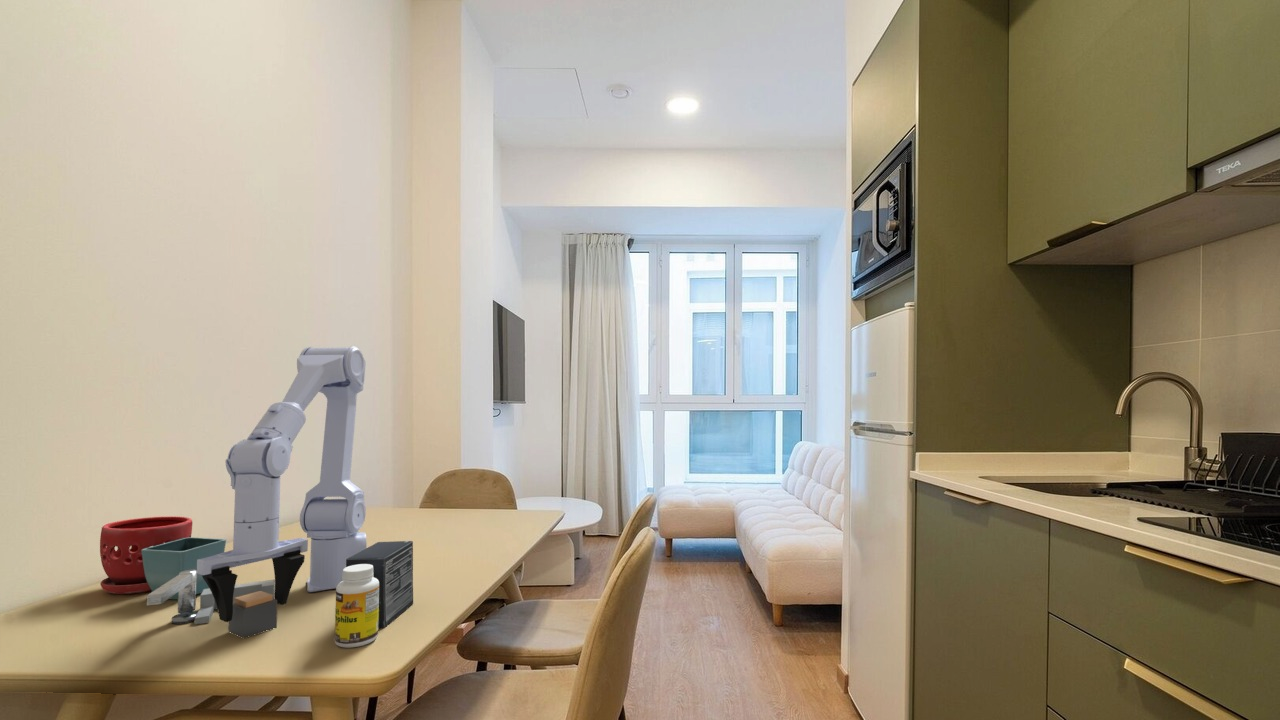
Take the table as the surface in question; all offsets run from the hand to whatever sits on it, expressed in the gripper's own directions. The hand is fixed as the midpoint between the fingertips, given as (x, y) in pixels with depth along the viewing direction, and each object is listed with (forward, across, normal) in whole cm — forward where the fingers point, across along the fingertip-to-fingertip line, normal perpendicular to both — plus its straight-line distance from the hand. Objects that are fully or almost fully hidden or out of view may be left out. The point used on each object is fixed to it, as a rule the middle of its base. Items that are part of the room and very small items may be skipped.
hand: (254, 611), depth 87 cm
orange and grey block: (+3, 0, 0) cm, 3 cm away
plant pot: (+3, -1, -40) cm, 40 cm away
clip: (+1, +6, -10) cm, 12 cm away
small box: (+3, -13, +11) cm, 18 cm away
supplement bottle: (+3, -5, +17) cm, 18 cm away
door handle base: (+3, +3, -14) cm, 14 cm away
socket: (+3, -2, -11) cm, 11 cm away
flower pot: (+3, -2, -28) cm, 28 cm away
